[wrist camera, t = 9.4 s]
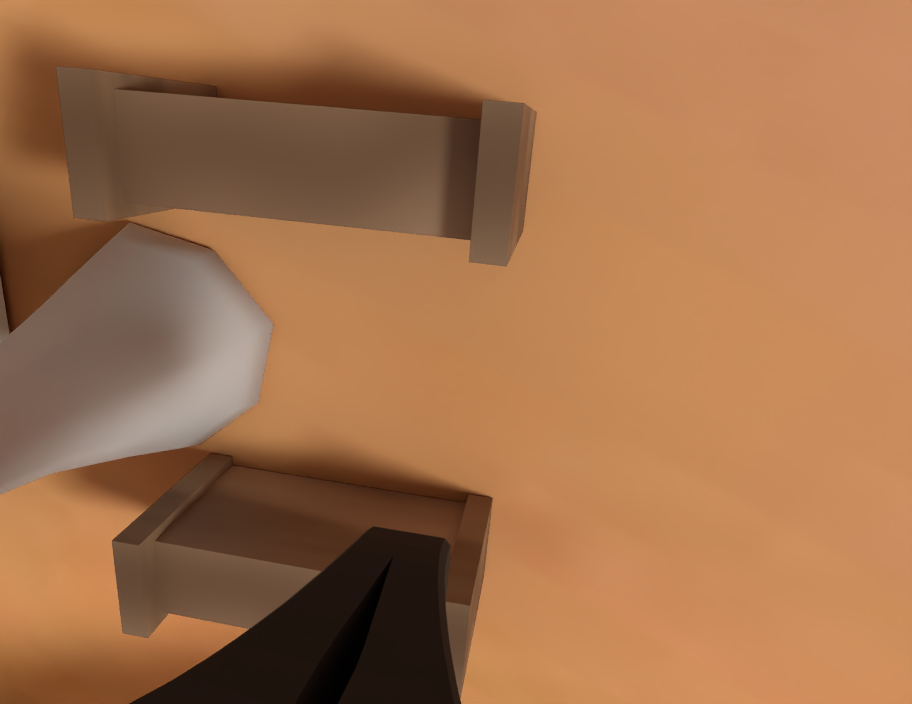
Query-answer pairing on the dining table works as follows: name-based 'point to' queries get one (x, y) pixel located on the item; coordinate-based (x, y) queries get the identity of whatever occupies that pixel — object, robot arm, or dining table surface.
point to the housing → (303, 200)
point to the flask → (129, 359)
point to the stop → (3, 317)
